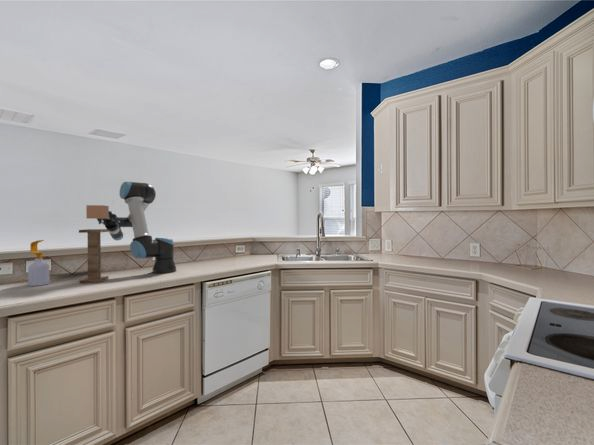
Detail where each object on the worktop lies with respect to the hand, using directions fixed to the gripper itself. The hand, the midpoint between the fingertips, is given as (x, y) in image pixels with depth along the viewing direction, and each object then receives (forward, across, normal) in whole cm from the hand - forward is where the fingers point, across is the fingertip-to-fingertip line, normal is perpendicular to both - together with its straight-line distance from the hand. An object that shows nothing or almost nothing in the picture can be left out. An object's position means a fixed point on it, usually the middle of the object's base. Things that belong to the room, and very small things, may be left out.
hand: (102, 209), depth 207 cm
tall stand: (-2, -3, -48) cm, 48 cm away
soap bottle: (+2, +23, -50) cm, 55 cm away
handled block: (-3, 0, -5) cm, 6 cm away
